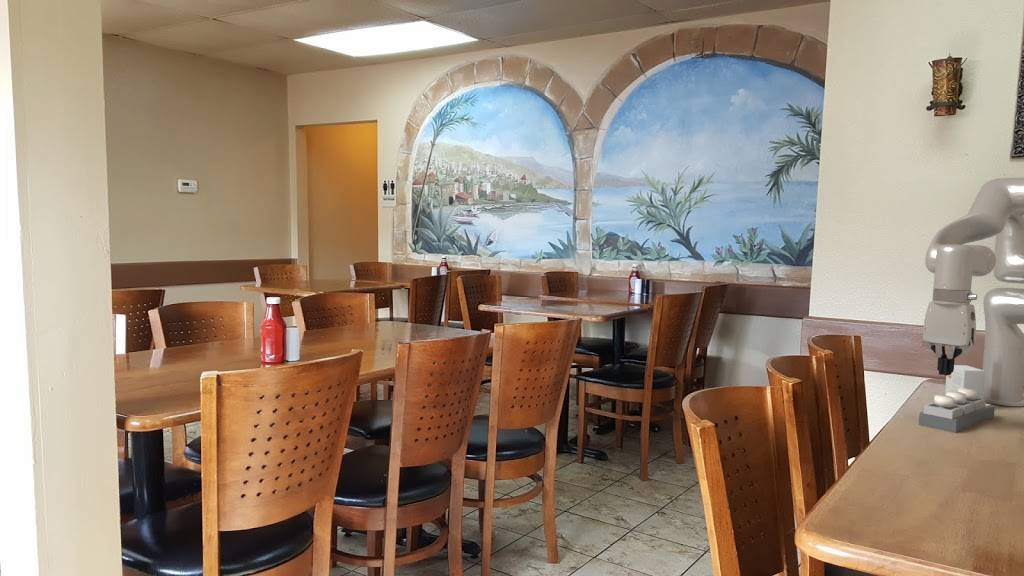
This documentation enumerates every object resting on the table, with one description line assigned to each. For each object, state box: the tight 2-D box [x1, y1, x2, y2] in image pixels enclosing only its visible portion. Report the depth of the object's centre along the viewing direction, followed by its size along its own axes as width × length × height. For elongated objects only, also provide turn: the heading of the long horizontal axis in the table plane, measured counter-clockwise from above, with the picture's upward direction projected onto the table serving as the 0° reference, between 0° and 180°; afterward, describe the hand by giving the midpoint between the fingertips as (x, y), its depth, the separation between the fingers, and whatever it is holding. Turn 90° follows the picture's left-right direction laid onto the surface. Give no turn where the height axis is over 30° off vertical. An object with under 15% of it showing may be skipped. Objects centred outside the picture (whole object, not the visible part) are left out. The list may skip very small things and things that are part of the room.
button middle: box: [946, 391, 966, 403], centre depth 173 cm, size 4×4×2 cm
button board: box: [918, 398, 996, 434], centre depth 174 cm, size 24×8×5 cm, turn 128°
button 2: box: [958, 388, 977, 400], centre depth 177 cm, size 4×4×2 cm
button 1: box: [933, 394, 954, 407], centre depth 168 cm, size 4×4×2 cm
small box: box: [944, 364, 985, 399], centre depth 190 cm, size 8×6×10 cm
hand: (945, 374), depth 167 cm, fingers closed
